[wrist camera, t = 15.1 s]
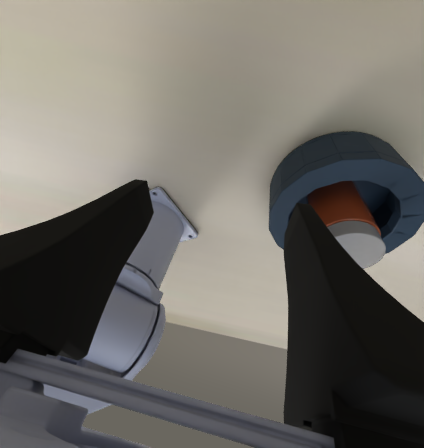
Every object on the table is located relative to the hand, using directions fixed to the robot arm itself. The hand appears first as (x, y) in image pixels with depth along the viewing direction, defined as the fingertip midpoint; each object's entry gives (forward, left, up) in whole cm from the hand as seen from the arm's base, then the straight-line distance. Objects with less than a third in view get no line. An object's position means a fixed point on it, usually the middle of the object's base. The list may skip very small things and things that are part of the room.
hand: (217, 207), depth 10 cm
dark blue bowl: (+5, -8, -10) cm, 14 cm away
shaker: (+5, -8, -9) cm, 13 cm away
